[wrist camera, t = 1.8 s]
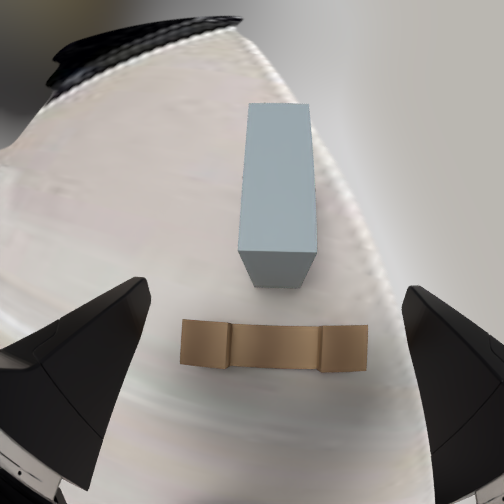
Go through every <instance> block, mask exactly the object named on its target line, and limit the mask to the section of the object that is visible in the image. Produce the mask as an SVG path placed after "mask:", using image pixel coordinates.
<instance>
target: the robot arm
mask: <svg viewBox="0 0 504 504" xmlns="http://www.w3.org/2000/svg"><path fill="white" fill-rule="evenodd" d="M150 304H151V295H150V291H149V287H148V283H147V280H146V279H145V278H144V277H133V278H131V279H129V280H127V281H126V282H124V283H122V284H120V285H118V286H116V287H115V288H113V289H111V290H109V291H107V292H106V293H104V294H102V295H100V296H98V297H97V298H95V299H93V300H91V301H89V302H88V303H86V304H84V305H82V306H81V307H79V308H77V309H75V310H74V311H72V312H70V313H68V314H67V315H65V316H63V317H61V318H60V320H59V319H58V320H56V321H54V322H53V323H51V324H49V325H47V326H46V327H44V328H42V329H40V330H38V331H37V332H35V333H33V334H31V335H29V336H27V337H25V338H23V339H21V340H19V341H17V342H15V343H13V344H11V345H9V346H7V347H5V348H3V349H0V504H67V503H66V501H65V499H64V496H63V494H62V491H61V489H60V488H59V485H60V482H61V480H62V479H64V480H66V481H67V482H69V483H71V484H73V485H75V486H77V487H79V488H81V489H83V490H86V491H88V489H89V487H90V483H91V479H92V476H93V472H94V469H95V465H96V462H97V459H98V455H99V452H100V449H101V446H102V442H103V439H104V436H105V433H106V429H107V426H108V423H109V421H110V418H111V415H112V412H113V409H114V406H115V403H116V400H117V398H118V395H119V392H120V389H121V387H122V384H123V381H124V379H125V376H126V373H127V371H128V368H129V366H130V363H131V360H132V358H133V355H134V353H135V350H136V348H137V345H138V343H139V340H140V337H141V334H142V331H143V328H144V324H145V321H146V317H147V314H148V310H149V307H150ZM402 315H403V320H404V325H405V331H406V336H407V342H408V347H409V351H410V355H411V359H412V363H413V366H414V370H415V374H416V378H417V383H418V387H419V391H420V396H421V400H422V405H423V410H424V415H425V421H426V426H427V432H428V438H429V445H430V452H431V461H432V469H433V479H434V491H435V504H454V503H456V502H459V501H461V500H463V499H466V498H468V497H470V496H472V495H475V497H476V503H477V504H504V345H503V344H502V343H500V342H499V341H498V340H496V339H495V338H494V337H492V336H491V335H489V334H488V333H487V332H486V331H484V330H483V329H482V328H480V327H479V326H477V325H476V324H475V323H473V322H472V321H471V320H469V319H468V318H466V317H465V316H464V315H462V314H461V313H459V312H458V311H456V310H455V309H454V308H452V307H451V306H449V305H448V304H446V303H445V302H443V301H442V300H440V299H439V298H438V297H436V296H435V295H433V294H431V293H430V292H429V291H427V290H425V289H424V288H423V287H421V286H409V287H408V289H407V292H406V295H405V298H404V301H403V304H402Z"/></svg>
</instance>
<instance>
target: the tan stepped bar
mask: <svg viewBox="0 0 504 504" xmlns="http://www.w3.org/2000/svg"><path fill="white" fill-rule="evenodd" d="M367 344H368V325H351V326H319V327H307V326H267V325H245V324H231V323H225V322H211V321H198V320H186V319H183V321H182V335H181V352H180V364H184V365H192V366H200V367H210V368H220V369H226V368H227V367H229V366H241V367H257V368H282V369H317V370H319V371H320V372H353V371H366V366H367Z"/></svg>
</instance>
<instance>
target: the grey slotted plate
mask: <svg viewBox="0 0 504 504" xmlns="http://www.w3.org/2000/svg"><path fill="white" fill-rule="evenodd" d="M238 252H239V254H240V256H241V259H242V261H243V263H244V265H245V267H246V270H247V272H248V274H249V276H250V278H251V281H252V283H253V285H254V287H267V288H300V287H301V285H302V283H303V281H304V278H305V276H306V274H307V272H308V270H309V268H310V266H311V264H312V262H313V260H314V258H315V256H316V254H317V226H316V198H315V178H314V161H313V147H312V134H311V122H310V112H309V104H293V103H249V109H248V121H247V133H246V145H245V158H244V171H243V184H242V197H241V211H240V225H239V239H238Z"/></svg>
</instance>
